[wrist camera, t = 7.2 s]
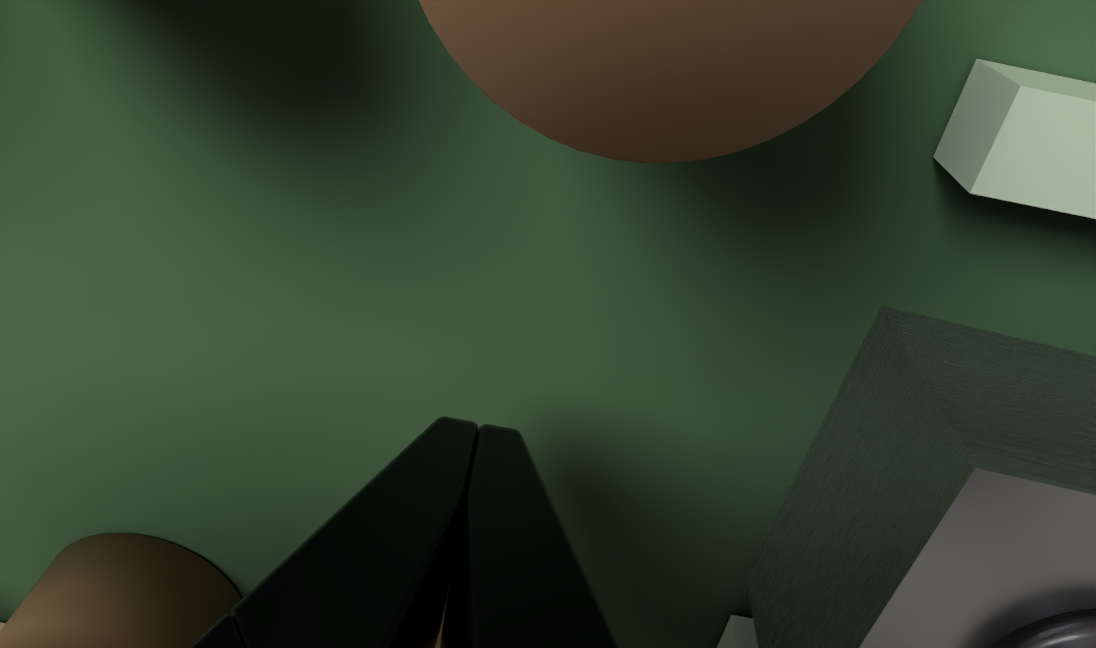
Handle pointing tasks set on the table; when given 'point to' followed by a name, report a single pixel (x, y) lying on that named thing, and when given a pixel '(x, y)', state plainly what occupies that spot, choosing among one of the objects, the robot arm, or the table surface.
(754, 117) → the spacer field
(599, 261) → the table surface
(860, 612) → the grey knob block
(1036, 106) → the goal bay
